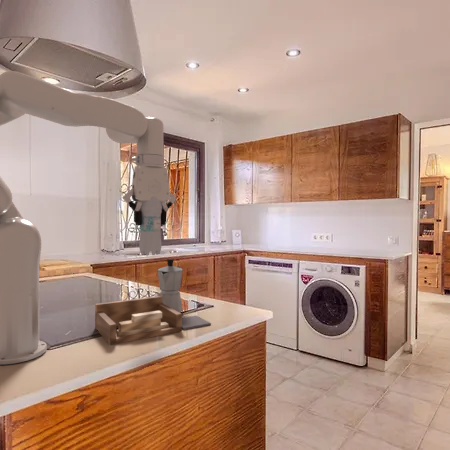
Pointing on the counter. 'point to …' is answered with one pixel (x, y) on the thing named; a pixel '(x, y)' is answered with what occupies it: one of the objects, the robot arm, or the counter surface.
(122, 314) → the rack
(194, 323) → the mat
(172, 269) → the coffee maker
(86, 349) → the counter surface
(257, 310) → the counter surface
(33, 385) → the counter surface
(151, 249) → the bottle
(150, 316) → the offcut stack
